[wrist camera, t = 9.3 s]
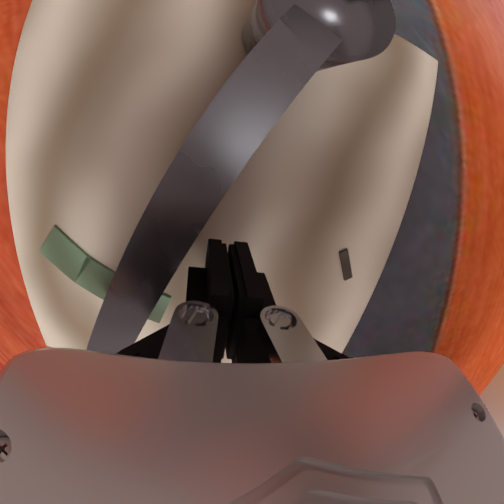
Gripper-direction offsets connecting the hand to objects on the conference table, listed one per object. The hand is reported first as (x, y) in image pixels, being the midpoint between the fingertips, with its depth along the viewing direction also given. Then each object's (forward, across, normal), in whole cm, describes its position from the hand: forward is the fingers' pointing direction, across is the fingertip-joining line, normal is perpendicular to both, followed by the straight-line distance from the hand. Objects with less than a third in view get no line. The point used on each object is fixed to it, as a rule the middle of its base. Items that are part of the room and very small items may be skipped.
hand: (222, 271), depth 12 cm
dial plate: (+3, +1, -2) cm, 4 cm away
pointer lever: (+1, +2, -4) cm, 5 cm away
